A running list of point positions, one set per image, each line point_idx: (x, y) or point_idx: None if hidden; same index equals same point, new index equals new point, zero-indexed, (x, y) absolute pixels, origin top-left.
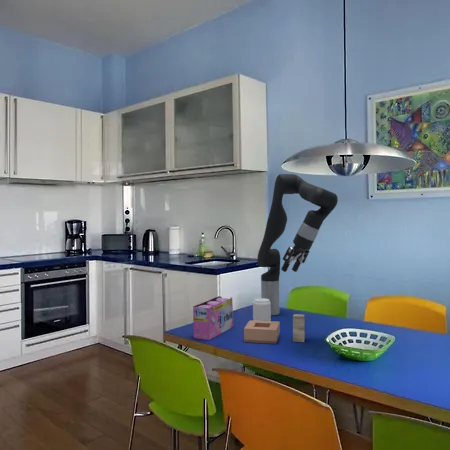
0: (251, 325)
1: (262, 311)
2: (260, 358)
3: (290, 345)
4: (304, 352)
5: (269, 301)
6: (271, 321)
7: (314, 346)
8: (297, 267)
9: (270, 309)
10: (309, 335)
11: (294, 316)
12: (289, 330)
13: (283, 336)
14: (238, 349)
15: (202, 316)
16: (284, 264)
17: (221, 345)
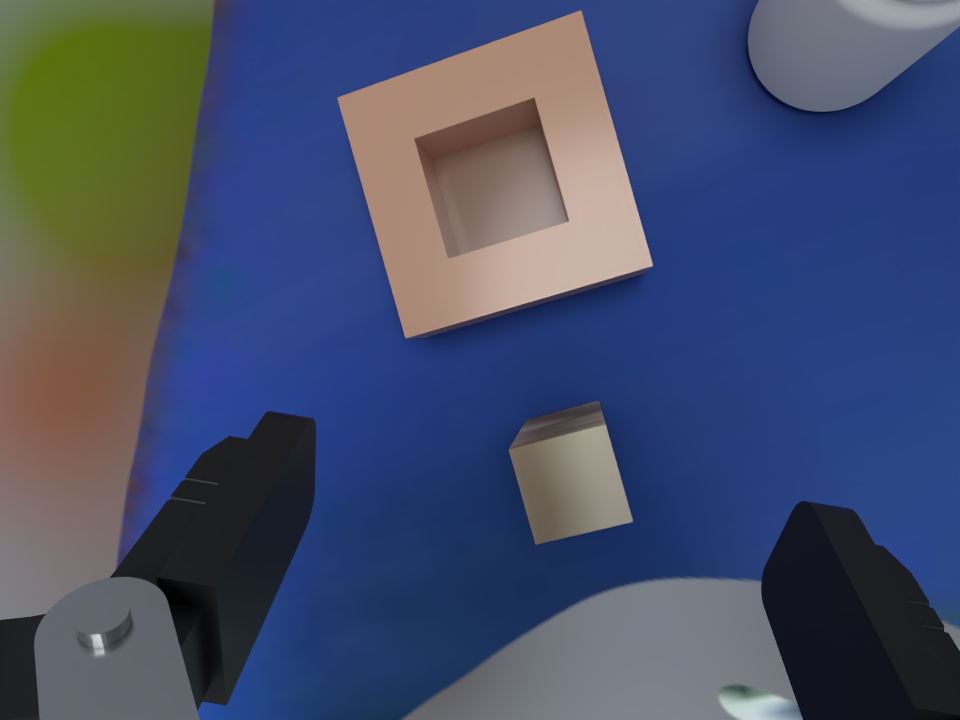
0: (438, 107)
1: (798, 16)
2: (156, 356)
3: (440, 431)
4: (356, 550)
5: (954, 4)
6: (627, 200)
7: (489, 576)
8: (804, 689)
9: (908, 55)
10: (715, 480)
11: (532, 457)
12: (779, 301)
13: (607, 318)
14: (229, 170)
15: None
16: (149, 555)
17: (245, 34)
